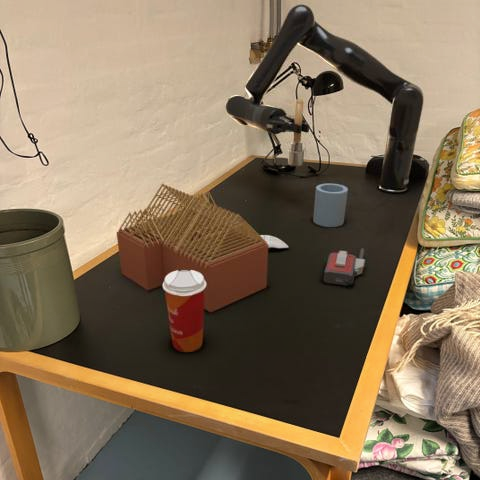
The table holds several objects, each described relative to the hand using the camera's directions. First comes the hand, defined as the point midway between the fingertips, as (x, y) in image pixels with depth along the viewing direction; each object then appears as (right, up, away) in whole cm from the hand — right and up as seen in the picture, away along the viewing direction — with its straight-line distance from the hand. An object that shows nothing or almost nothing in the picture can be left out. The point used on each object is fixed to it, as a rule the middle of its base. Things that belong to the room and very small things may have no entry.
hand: (304, 129), depth 144 cm
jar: (+8, -25, +5) cm, 27 cm away
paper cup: (-28, -59, -49) cm, 82 cm away
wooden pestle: (-2, -8, +8) cm, 11 cm away
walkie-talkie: (+7, -42, -21) cm, 48 cm away
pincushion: (-12, -36, -11) cm, 39 cm away
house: (-29, -45, -26) cm, 60 cm away
